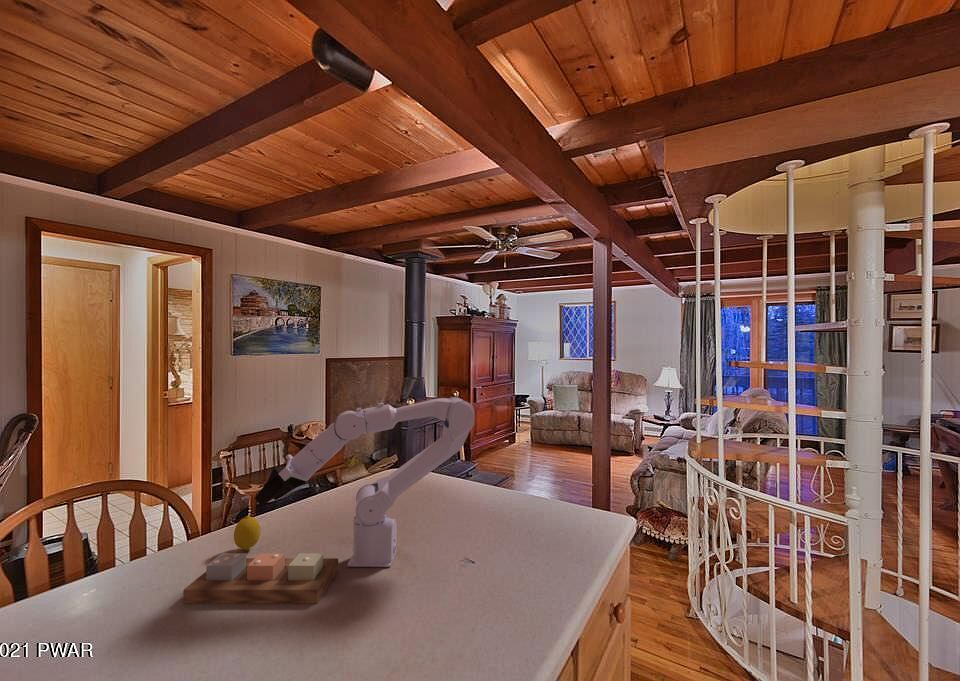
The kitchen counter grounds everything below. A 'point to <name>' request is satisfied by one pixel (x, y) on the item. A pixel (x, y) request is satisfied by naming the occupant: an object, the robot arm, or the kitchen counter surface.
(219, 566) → the tile three
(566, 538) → the kitchen counter surface
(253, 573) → the tile two
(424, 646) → the kitchen counter surface
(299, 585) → the button board
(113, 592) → the kitchen counter surface
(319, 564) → the tile one
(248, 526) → the lemon
